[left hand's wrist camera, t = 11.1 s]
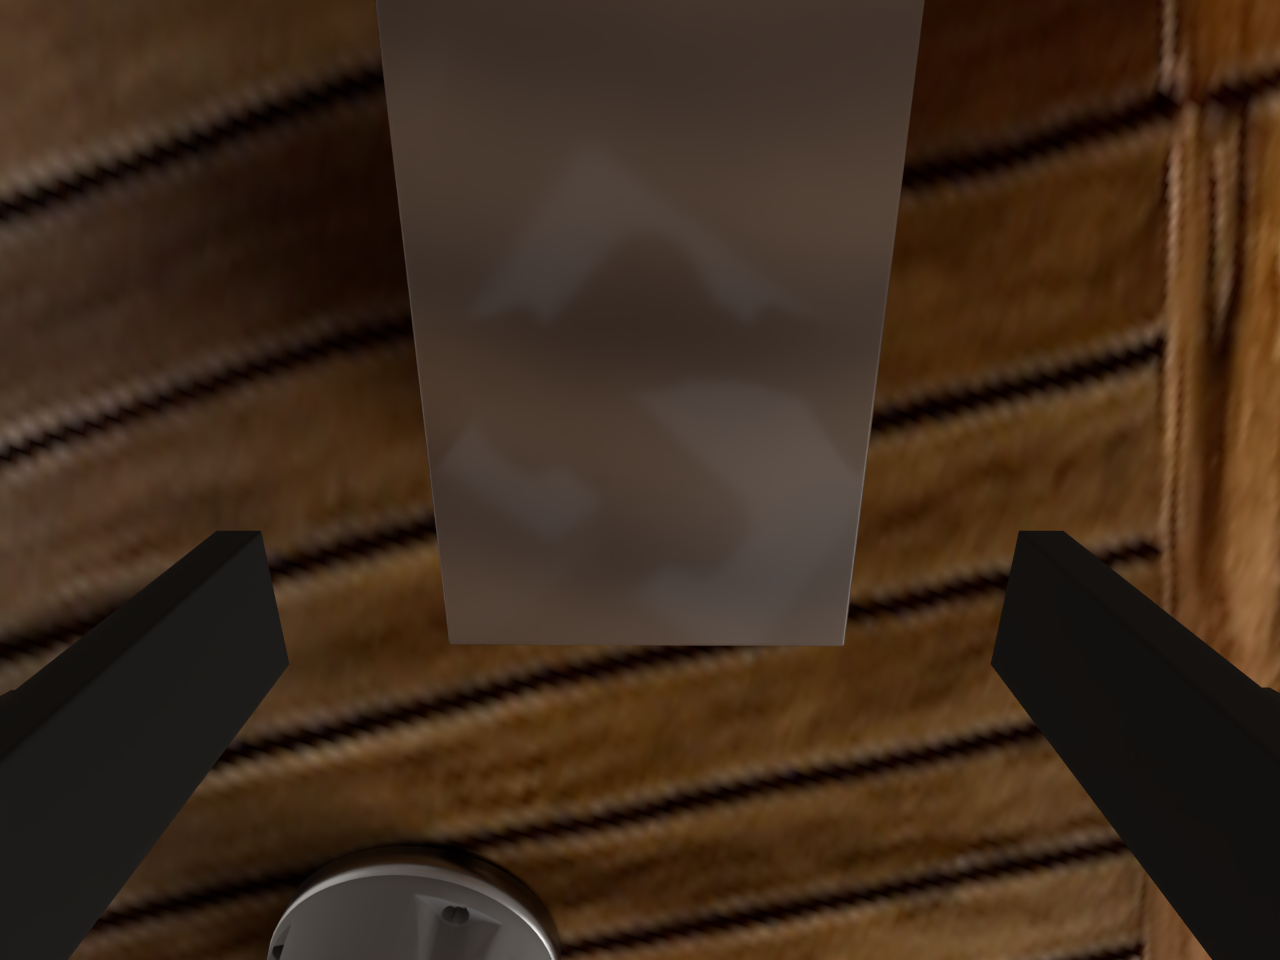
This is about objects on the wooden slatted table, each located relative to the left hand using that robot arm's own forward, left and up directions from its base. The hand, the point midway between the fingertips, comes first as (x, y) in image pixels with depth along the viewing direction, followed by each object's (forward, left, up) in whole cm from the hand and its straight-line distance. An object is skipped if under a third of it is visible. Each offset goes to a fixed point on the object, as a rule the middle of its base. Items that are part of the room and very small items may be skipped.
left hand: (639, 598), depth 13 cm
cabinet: (+2, +4, -16) cm, 17 cm away
